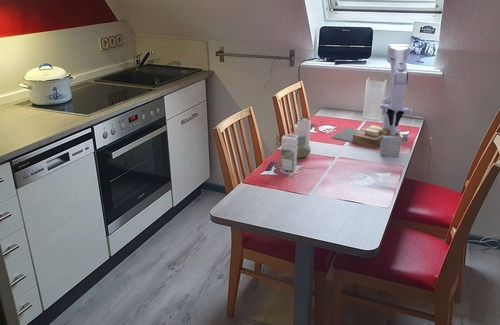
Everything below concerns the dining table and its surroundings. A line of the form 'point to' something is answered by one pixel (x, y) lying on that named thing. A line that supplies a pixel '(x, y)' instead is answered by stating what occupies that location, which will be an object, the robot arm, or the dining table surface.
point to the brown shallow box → (369, 137)
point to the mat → (346, 134)
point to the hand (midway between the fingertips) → (393, 125)
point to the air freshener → (302, 146)
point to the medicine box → (390, 146)
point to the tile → (374, 130)
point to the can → (304, 127)
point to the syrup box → (289, 152)
